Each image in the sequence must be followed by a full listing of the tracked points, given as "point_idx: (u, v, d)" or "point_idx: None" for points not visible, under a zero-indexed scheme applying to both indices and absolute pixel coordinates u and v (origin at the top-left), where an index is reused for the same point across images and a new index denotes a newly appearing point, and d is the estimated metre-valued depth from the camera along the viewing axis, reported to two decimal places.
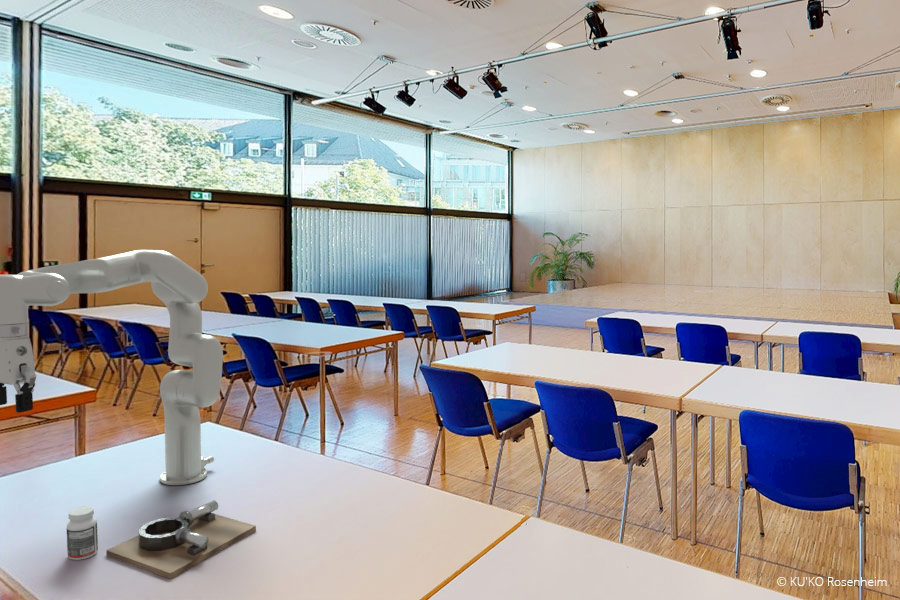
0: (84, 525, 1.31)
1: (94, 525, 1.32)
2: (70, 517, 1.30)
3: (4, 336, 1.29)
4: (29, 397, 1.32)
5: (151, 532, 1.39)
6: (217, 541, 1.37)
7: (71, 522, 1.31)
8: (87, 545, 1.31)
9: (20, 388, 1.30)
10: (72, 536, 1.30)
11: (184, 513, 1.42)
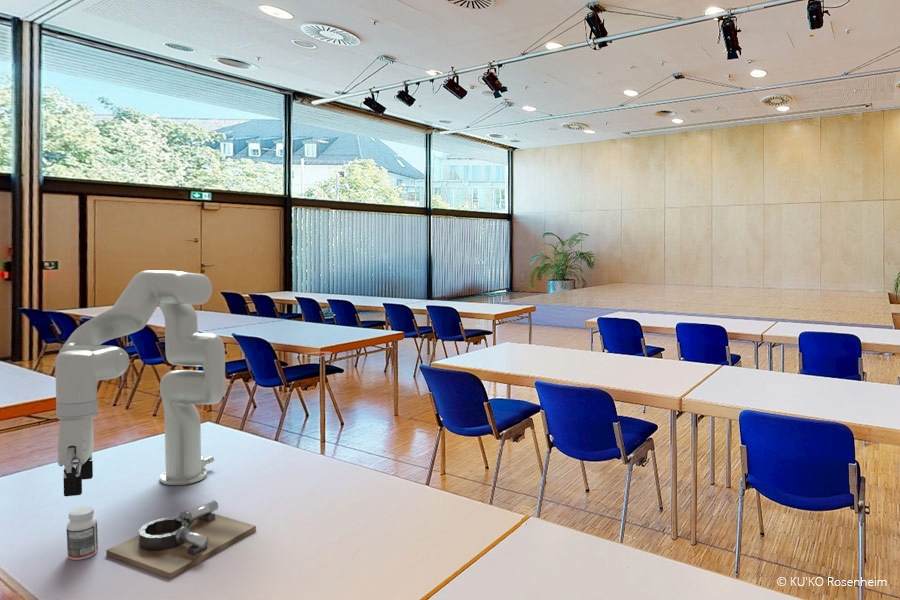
0: (84, 525, 1.31)
1: (94, 525, 1.32)
2: (70, 517, 1.30)
3: None
4: None
5: (151, 532, 1.39)
6: (217, 541, 1.37)
7: (71, 522, 1.31)
8: (87, 545, 1.31)
9: None
10: (72, 536, 1.30)
11: (184, 513, 1.42)
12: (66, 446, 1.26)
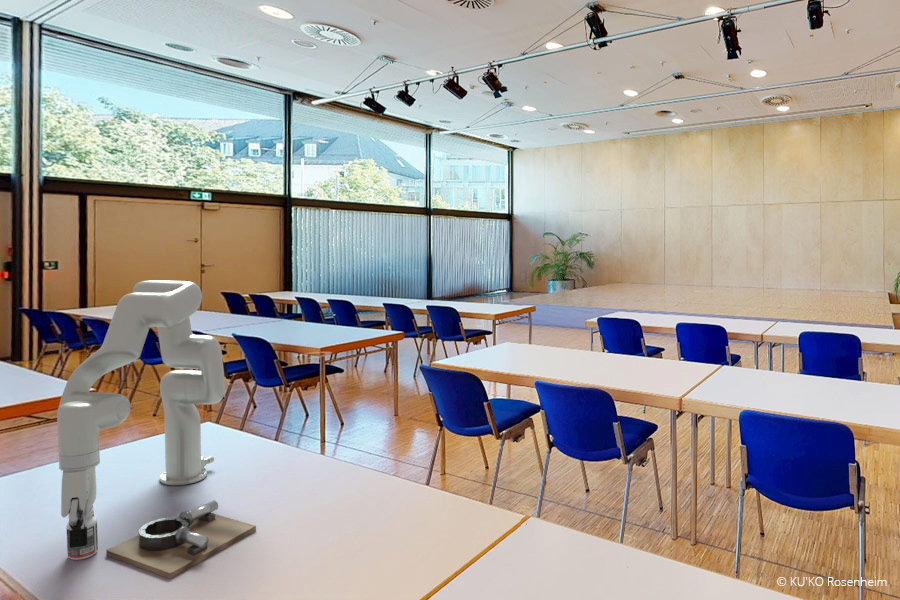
0: None
1: (94, 525, 1.32)
2: None
3: None
4: None
5: (151, 532, 1.39)
6: (217, 541, 1.37)
7: None
8: (87, 545, 1.31)
9: None
10: None
11: (184, 513, 1.42)
12: (69, 498, 1.27)
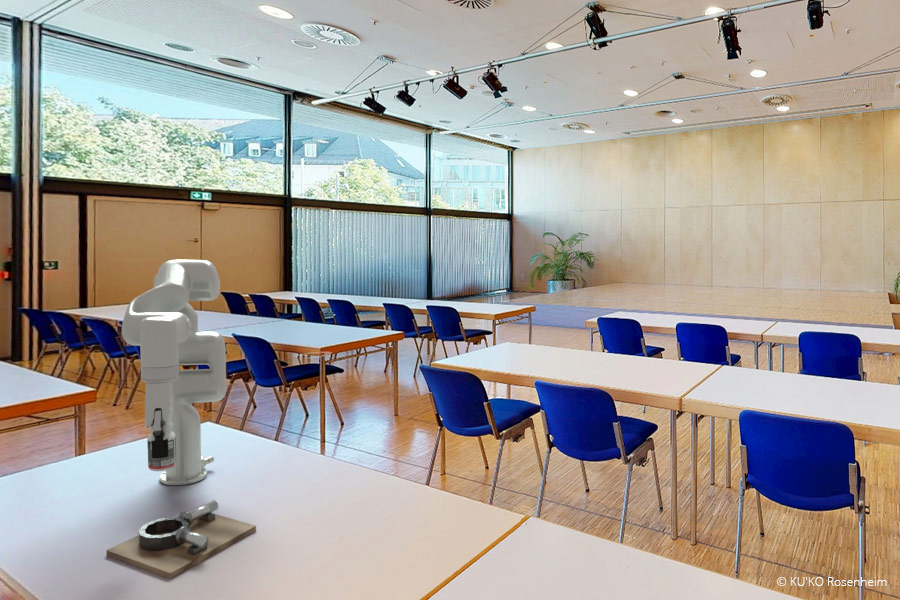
0: None
1: (174, 438, 1.35)
2: (151, 429, 1.33)
3: None
4: None
5: (151, 532, 1.39)
6: (217, 541, 1.37)
7: None
8: (168, 457, 1.34)
9: None
10: None
11: (184, 513, 1.42)
12: (153, 408, 1.30)
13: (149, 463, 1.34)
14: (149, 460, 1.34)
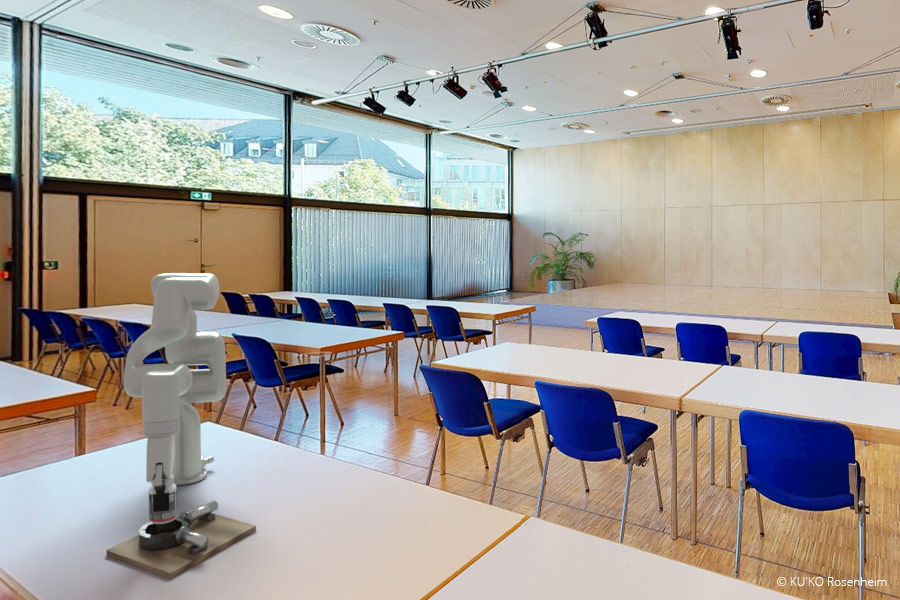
0: None
1: (175, 490, 1.36)
2: (153, 482, 1.34)
3: None
4: None
5: (151, 532, 1.39)
6: (217, 541, 1.37)
7: (153, 487, 1.35)
8: (169, 510, 1.35)
9: None
10: None
11: (184, 513, 1.42)
12: (154, 463, 1.31)
13: (150, 516, 1.35)
14: (150, 513, 1.35)
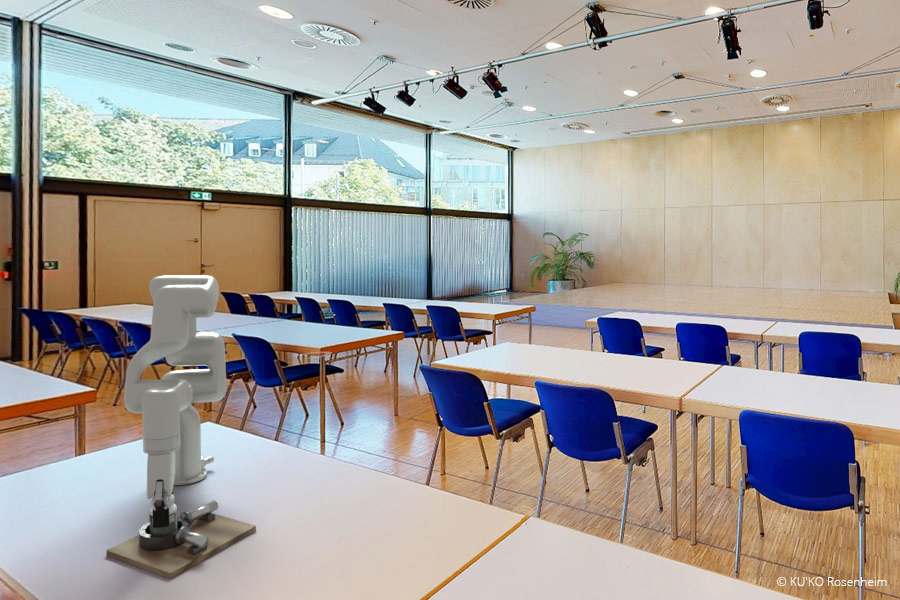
0: None
1: (175, 511, 1.37)
2: None
3: None
4: None
5: None
6: (217, 541, 1.37)
7: None
8: (170, 531, 1.36)
9: None
10: None
11: (184, 513, 1.42)
12: (154, 480, 1.31)
13: None
14: (151, 534, 1.35)
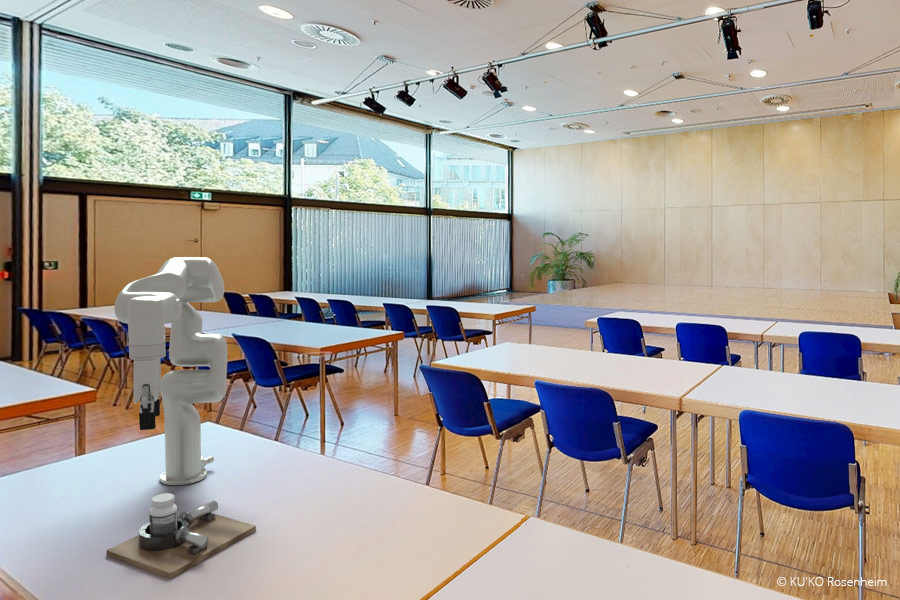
0: (167, 511, 1.35)
1: (175, 511, 1.37)
2: (154, 503, 1.35)
3: None
4: None
5: None
6: (217, 541, 1.37)
7: (154, 508, 1.35)
8: (170, 531, 1.36)
9: None
10: (156, 521, 1.34)
11: (184, 513, 1.42)
12: (141, 384, 1.36)
13: None
14: (151, 534, 1.35)
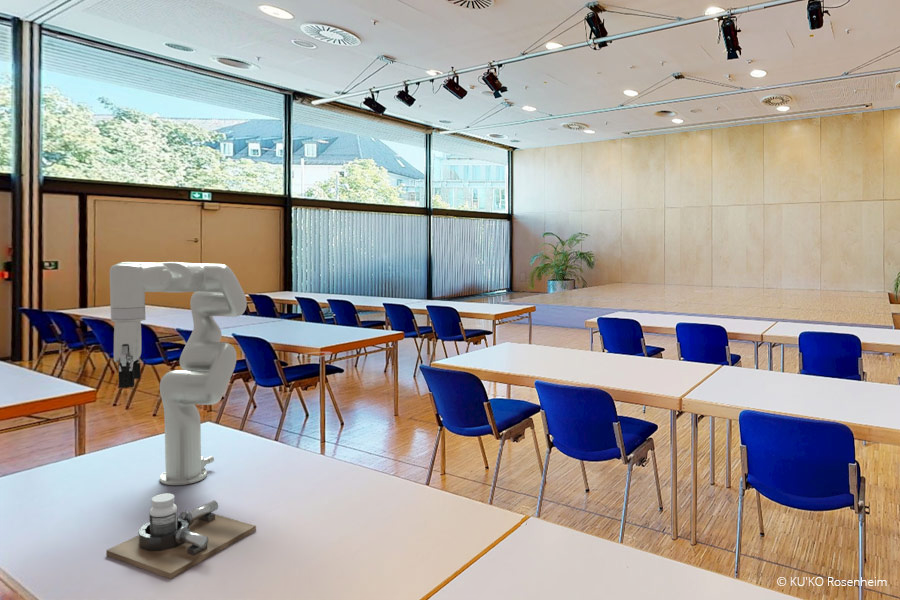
0: (167, 511, 1.35)
1: (175, 511, 1.37)
2: (154, 503, 1.35)
3: None
4: None
5: None
6: (217, 541, 1.37)
7: (154, 508, 1.35)
8: (170, 531, 1.36)
9: None
10: (156, 521, 1.34)
11: (184, 513, 1.42)
12: (121, 344, 1.45)
13: None
14: (151, 534, 1.35)
